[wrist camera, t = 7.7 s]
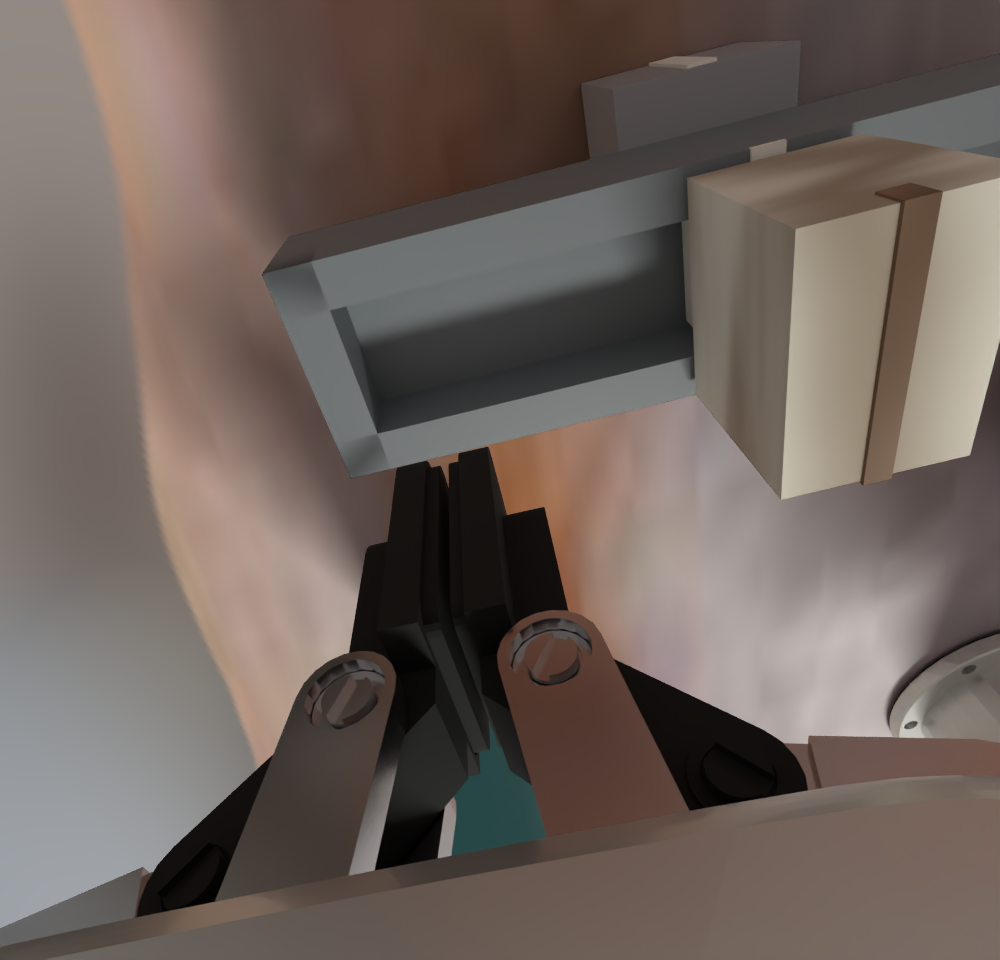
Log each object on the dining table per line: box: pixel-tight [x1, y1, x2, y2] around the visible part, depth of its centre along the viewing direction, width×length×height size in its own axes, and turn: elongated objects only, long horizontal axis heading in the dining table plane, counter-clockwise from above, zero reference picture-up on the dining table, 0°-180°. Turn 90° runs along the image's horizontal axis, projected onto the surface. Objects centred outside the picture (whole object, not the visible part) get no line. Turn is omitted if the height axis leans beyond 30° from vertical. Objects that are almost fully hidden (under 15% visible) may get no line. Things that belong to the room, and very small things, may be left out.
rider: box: [682, 133, 1000, 500], centre depth 14 cm, size 4×6×7 cm
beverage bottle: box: [451, 722, 547, 856], centre depth 24 cm, size 6×7×20 cm
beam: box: [262, 40, 1000, 478], centre depth 19 cm, size 24×9×8 cm, turn 102°
